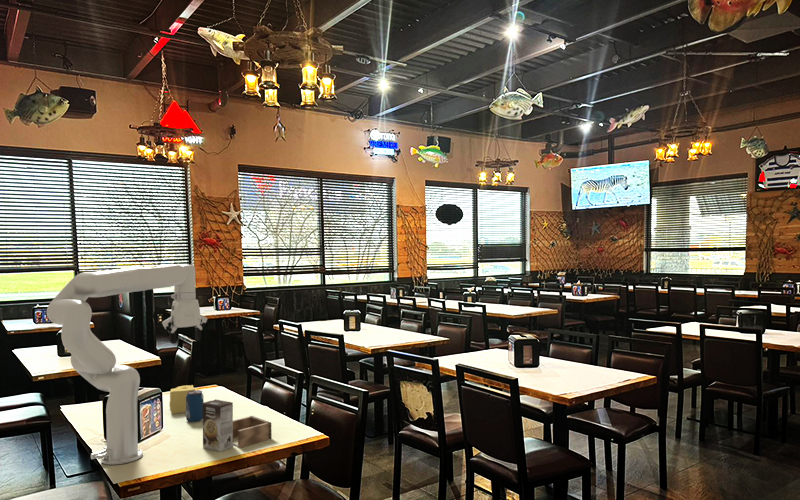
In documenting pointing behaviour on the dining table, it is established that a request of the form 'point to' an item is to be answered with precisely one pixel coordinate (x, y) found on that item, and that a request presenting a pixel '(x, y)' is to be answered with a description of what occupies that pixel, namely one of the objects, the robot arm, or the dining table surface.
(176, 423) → the dining table surface
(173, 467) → the dining table surface
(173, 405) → the cheese
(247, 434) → the walnut caddy
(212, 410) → the coffee box
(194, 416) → the soda can
